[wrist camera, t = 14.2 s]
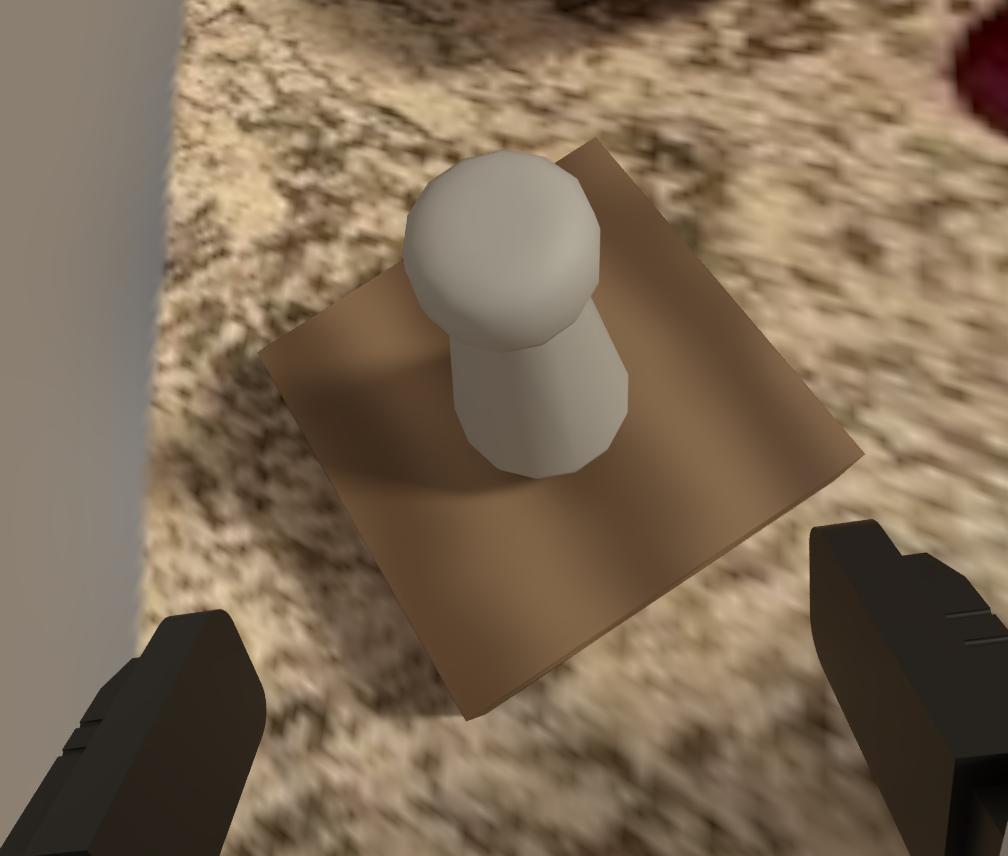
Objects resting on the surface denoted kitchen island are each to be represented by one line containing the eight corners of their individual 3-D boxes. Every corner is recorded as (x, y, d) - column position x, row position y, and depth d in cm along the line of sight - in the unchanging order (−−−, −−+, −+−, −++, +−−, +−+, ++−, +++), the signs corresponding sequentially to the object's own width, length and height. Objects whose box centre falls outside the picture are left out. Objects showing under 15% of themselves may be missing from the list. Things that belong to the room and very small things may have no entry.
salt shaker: (447, 468, 28) (314, 314, 16) (494, 326, 29) (404, 82, 17) (606, 511, 27) (594, 379, 14) (646, 360, 28) (667, 124, 16)
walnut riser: (598, 194, 35) (595, 137, 31) (833, 480, 30) (864, 454, 26) (297, 387, 34) (257, 352, 31) (485, 714, 29) (466, 721, 25)
